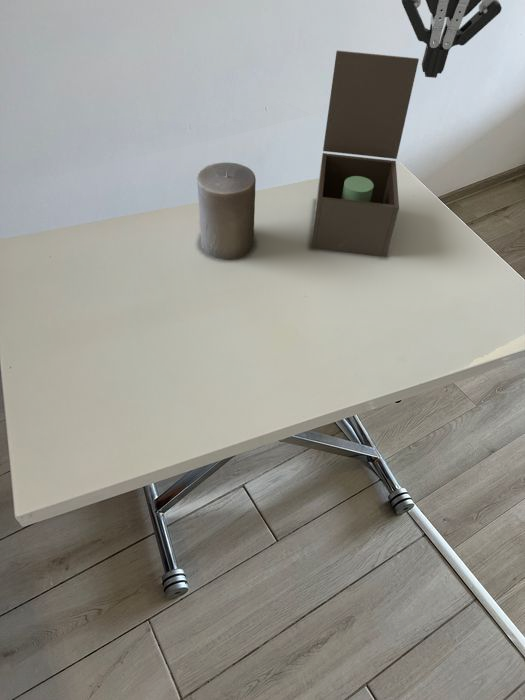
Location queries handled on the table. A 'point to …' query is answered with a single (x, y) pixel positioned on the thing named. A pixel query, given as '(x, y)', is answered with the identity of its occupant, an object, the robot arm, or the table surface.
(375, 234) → the brown hinged box
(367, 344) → the table surface
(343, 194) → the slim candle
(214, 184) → the pillar candle
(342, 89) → the brown box lid
